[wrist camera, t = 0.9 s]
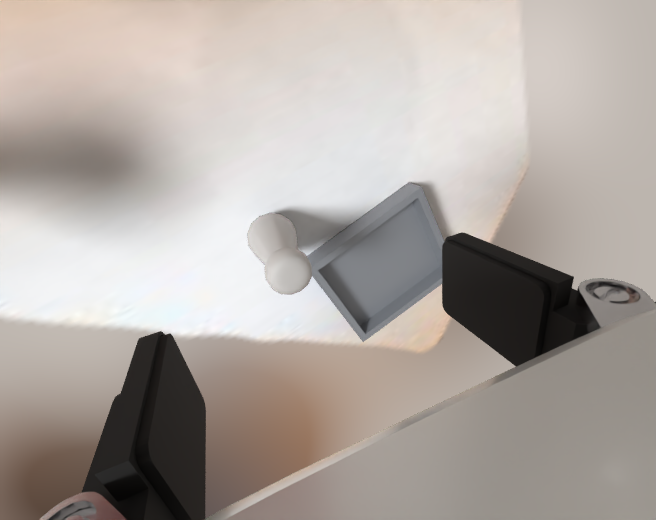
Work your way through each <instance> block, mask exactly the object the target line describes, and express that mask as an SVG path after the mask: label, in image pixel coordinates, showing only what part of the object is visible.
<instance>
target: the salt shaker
mask: <svg viewBox="0 0 656 520" xmlns="http://www.w3.org/2000/svg"><path fill="white" fill-rule="evenodd" d="M247 238H248V246H249V247H250V249H251V250H252V252H253V253H254V254H255V255H256V257H257V258H258V259H259V260H260V261H261V262H262V263H263V264H264V265H265V278H266V281H267V282H268V283H269V285H270V286H271V288H272V289H273V290H275V291H276V292H278V293H280V294H294V293H297V292H300V291H301V290H302V289H304V288H305V287H306V286H307V285H308V283H309V281H310V279H311V277H312V267H311V263H310V261H309V260H308V258H307V256H306V255H305V254H304V253H303V252H301V251H299V250H298V243H297V234H296V229H295V227H294V225H293V223H292V222H291V220H289V219H287V218H286V217H284V216H283V215H281V214H275V213H268V214H265V215H262V216H259V217H258V218H257V219H256V220H255V221H254V222H252V223H251V225H250V228H249V231H248V233H247Z"/></svg>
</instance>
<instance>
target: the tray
mask: <svg viewBox="0 0 656 520" xmlns="http://www.w3.org/2000/svg"><path fill="white" fill-rule="evenodd" d="M443 243H444V239H443V237H442V234H441V232H440V230H439V227H438V225H437V222H436V220H435V218H434V215H433V213H432V210H431V208H430V206H429V203H428V201H427V198H426V196H425V194H424V191H423V189H422V187H421V186H418V185H415V184H412V183H407V184H406V185H405V186H403V187H402V188H401V189H399V190H398V191H396V192H395V193H394V194H392V195H391V196H390V197H388V198H387V199H385V200H384V201H383V202H381V203H380V204H379V205H377V206H376V207H374V208H373V209H372V210H370V211H369V212H367V213H366V214H365V215H363V216H362V217H361V218H359V219H358V220H356V221H355V222H354V223H352V224H351V225H350V226H348V227H347V228H345V229H344V230H343V231H341V232H340V233H339V234H337V235H336V236H334V237H333V238H332V239H330V240H329V241H328V242H326V243H325V244H323V245H322V246H321V247H319V248H318V249H317V250H315V251H314V252H312V253H311V254H310V255H308V256H307V258H308V260H309V261H310V263H311V267H312V276H313V277H314V279H315V280H316V281H317V283H318V284H319V285H320V287H321V288H322V289H323V290H324V292H325V293H326V294H327V296H328V297H329V298H330V300H331V301H332V302H333V303H334V305H335V306H336V307H337V309H338V310H339V311H340V313H341V314H342V315H343V317H344V318H345V319H346V320H347V322H348V323H349V324H350V326H351V327H352V328H353V330H354V331H355V332H356V333H357V335H358V336H359V337H360V339H361V340H362V341H363V342H364V341H365V340H367V339H368V338H369V337H371V336H372V335H373V334H375V333H376V332H377V331H379V330H380V329H381V328H383V327H384V326H386V325H387V324H388V323H390V322H391V321H392V320H394V319H395V318H396V317H398V316H399V315H400V314H402V313H403V312H404V311H406V310H407V309H408V308H410V307H411V306H413V305H414V304H415V303H417V302H418V301H419V300H421V299H422V298H423V297H425V296H426V295H427V294H429V293H430V292H431V291H433V290H434V289H436V288H437V287H438V286H440V285H441V284H442V245H443Z"/></svg>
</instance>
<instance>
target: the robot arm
mask: <svg viewBox="0 0 656 520" xmlns="http://www.w3.org/2000/svg"><path fill="white" fill-rule="evenodd" d="M573 279H574V277H573V276H570V275H568V274H565V273H563V272H560V271H558V270H555V269H553V268H550V267H548V266H545V265H543V264H540V263H538V262H535V261H533V260H530V259H528V258H525V257H523V256H520V255H518V254H515V253H513V252H511V251H508V250H506V249H503V248H500V247H498V246H496V245H493V244H491V243H488V242H486V241H483V240H481V239H478V238H476V237H473V236H471V235H468V234H466V233H459V234H456V235H453V236H450V237H447V238H446V240H445V242H444V243H443V245H442V304H443V308H444V310H445V312H446V313H447V314H448V315H450V316H451V317H452V318H454V319H455V320H456V321H458V322H459V323H460V324H461V325H463V326H464V327H465V328H467V329H468V330H469V331H471V332H472V333H473V334H475V335H476V336H477V337H478V338H480V339H481V340H482V341H484V342H485V343H486V344H488V345H489V346H490V347H492V348H493V349H494V350H495V351H497V352H498V353H499V354H501V355H502V356H503V357H504V358H506V359H507V360H508V361H510V362H511V363H512V364H514V365H515V366H516V367H515V368H512V369H510V370H508V371H506V372H504V373H502V374H500V375H498V376H495V377H493V378H491V379H489V380H487V381H485V382H483V383H481V384H479V385H477V386H474V387H472V388H470V389H468V390H466V391H464V392H462V393H460V394H458V395H455V396H453V397H451V398H449V399H447V400H445V401H443V402H441V403H439V404H436V405H434V406H432V407H430V408H428V409H426V410H424V411H422V412H420V413H418V414H416V415H413V416H411V417H409V418H407V419H405V420H403V421H401V422H399V423H397V424H395V425H393V426H390V427H388V428H386V429H384V430H382V431H380V432H378V433H376V434H374V435H372V436H370V437H368V438H366V439H364V440H362V441H359V442H357V443H355V444H354V445H351V446H349V447H347V448H345V449H343V450H341V451H339V452H337V453H335V454H333V455H331V456H328V457H327V458H324V459H322V460H320V461H318V462H316V463H314V464H312V465H310V466H308V467H306V468H304V469H302V470H300V471H297V472H296V473H293V474H292V475H290V476H288V477H286V478H284V479H282V480H280V481H278V482H276V483H274V484H272V485H270V486H268V487H266V488H264V489H262V490H260V491H258V492H256V493H254V494H252V495H250V496H248V497H246V498H244V499H242V500H240V501H238V502H236V503H234V504H232V505H230V506H228V507H226V508H224V509H222V510H220V511H219V512H217V513H215V514H213V515H211V516H210V517H208V518H206V519H205V442H206V439H205V437H206V431H205V430H206V410H205V403H204V399H203V397H202V395H201V393H200V391H199V389H198V386H197V385H196V383H195V381H194V378H193V376H192V374H191V372H190V370H189V368H188V366H187V364H186V362H185V360H184V358H183V356H182V354H181V352H180V350H179V348H178V346H177V344H176V342H175V340H174V338H173V336H172V335H171V334H167V335H165V334H164V333H163V332H161V331H160V332H157V333H154V334H151V335H148V336H145V337H142V338H139V340H138V343H137V345H136V349H135V351H134V355H133V358H132V361H131V364H130V367H129V370H128V373H127V376H126V379H125V382H124V385H123V388H122V391H121V394H119V395H117V396H116V397H115V399H114V401H113V403H112V406H111V409H110V412H109V415H108V417H107V420H106V423H105V426H104V429H103V432H102V435H101V438H100V441H99V444H98V446H97V449H96V452H95V455H94V458H93V461H92V464H91V467H90V470H89V473H88V475H87V478H86V481H85V484H84V487H83V490H82V493H80V494H77V495H75V496H72V497H70V498H68V499H66V500H65V501H63V502H61V503H59V504H58V505H56V506H55V507H54V508H53V509H51V510H50V511H49V512H48V513H47V514H45V515H44V516H43V517H42V518H41V519H40V520H656V302H654V301H653V300H652V299H651V298H650V296H649V295H648V294H647V293H646V292H644V291H643V290H642V289H640V288H638V287H636V286H634V285H632V284H629V283H626V282H623V281H618V280H614V279H604V278H598V279H589V280H585V281H583V282H581V283H580V285H579V286H578V291H577V290H574V289H572V283H573Z"/></svg>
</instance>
